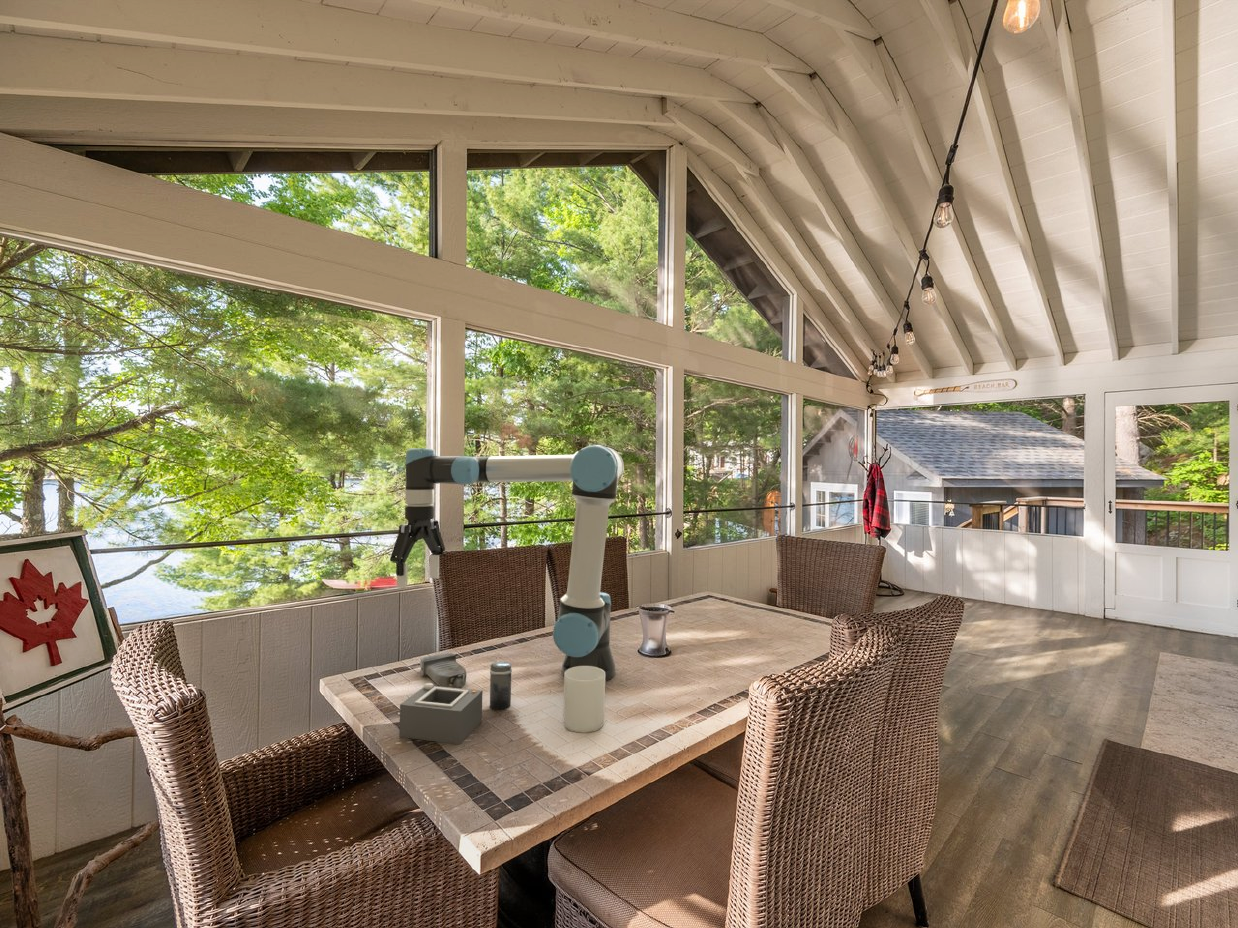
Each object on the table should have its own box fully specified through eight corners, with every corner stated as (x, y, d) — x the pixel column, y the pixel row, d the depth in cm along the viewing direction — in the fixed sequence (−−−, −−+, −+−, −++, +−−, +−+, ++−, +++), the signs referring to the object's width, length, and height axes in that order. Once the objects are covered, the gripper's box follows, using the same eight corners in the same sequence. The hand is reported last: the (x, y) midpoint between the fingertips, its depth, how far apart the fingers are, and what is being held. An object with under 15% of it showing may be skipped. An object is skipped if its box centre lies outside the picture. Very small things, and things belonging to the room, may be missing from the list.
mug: (588, 737, 123) (589, 684, 123) (546, 723, 129) (547, 672, 129) (612, 721, 131) (613, 671, 131) (571, 708, 137) (572, 660, 137)
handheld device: (443, 696, 143) (443, 677, 143) (415, 672, 159) (415, 656, 159) (478, 687, 150) (478, 669, 150) (448, 665, 165) (448, 649, 165)
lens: (514, 702, 140) (515, 661, 140) (506, 711, 135) (507, 669, 135) (494, 700, 141) (495, 659, 141) (485, 709, 136) (486, 667, 136)
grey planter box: (481, 720, 130) (482, 687, 130) (459, 744, 119) (460, 707, 119) (425, 714, 132) (426, 681, 132) (399, 736, 121) (400, 700, 121)
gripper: (436, 501, 167) (435, 573, 167) (375, 507, 143) (374, 591, 143) (458, 502, 165) (457, 575, 165) (400, 508, 141) (399, 593, 141)
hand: (418, 582), depth 154 cm, fingers open, 13 cm apart
